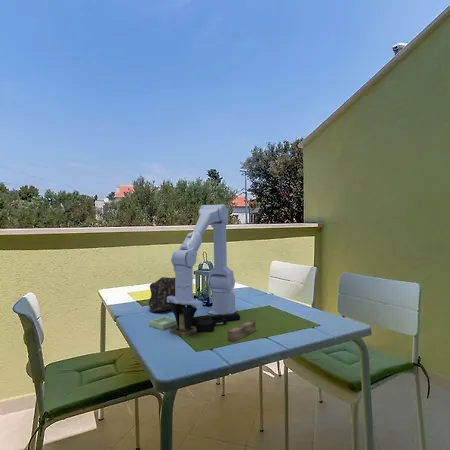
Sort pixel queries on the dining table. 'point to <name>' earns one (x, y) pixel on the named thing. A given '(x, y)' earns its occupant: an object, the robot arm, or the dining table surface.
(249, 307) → the dining table surface
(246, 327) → the rail
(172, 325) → the tray
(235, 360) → the dining table surface
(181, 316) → the dowel
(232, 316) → the handgun
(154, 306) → the rock
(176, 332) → the socket
